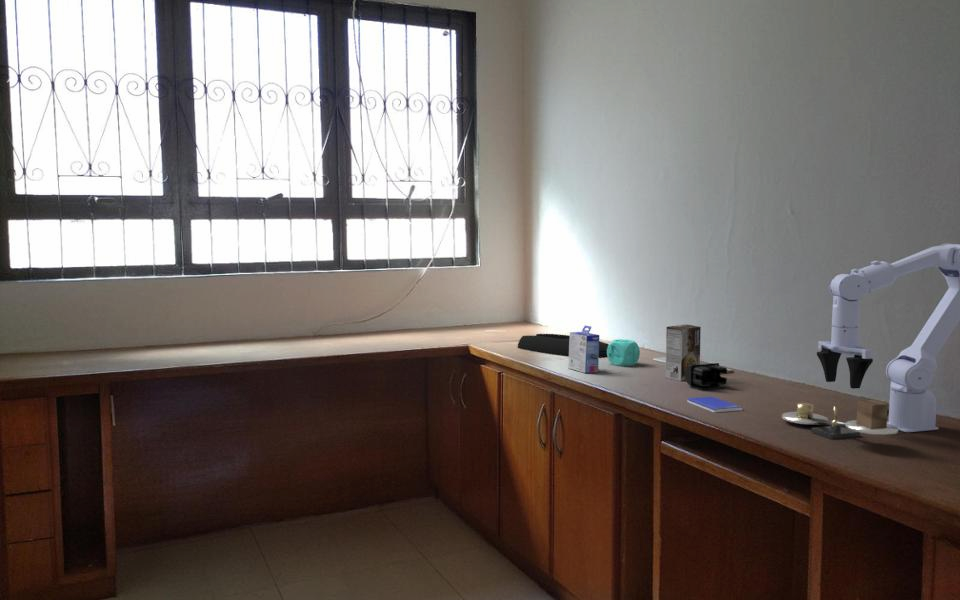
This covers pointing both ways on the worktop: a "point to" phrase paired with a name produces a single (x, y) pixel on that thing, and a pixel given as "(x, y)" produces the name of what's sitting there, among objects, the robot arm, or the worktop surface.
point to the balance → (832, 424)
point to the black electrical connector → (705, 376)
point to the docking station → (553, 344)
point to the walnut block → (872, 414)
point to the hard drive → (714, 404)
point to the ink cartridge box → (584, 351)
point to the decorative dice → (623, 352)
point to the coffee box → (681, 350)
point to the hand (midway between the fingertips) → (842, 384)
